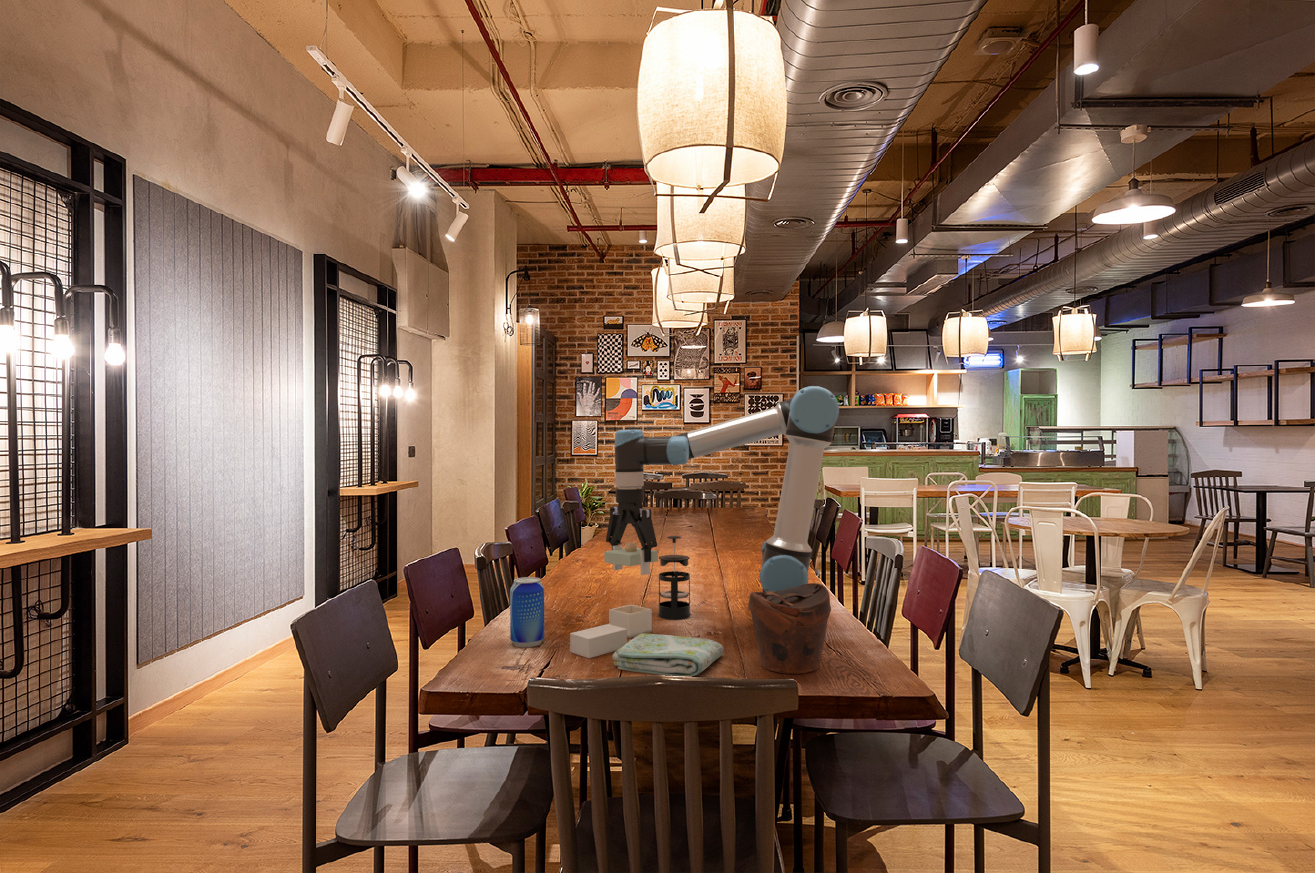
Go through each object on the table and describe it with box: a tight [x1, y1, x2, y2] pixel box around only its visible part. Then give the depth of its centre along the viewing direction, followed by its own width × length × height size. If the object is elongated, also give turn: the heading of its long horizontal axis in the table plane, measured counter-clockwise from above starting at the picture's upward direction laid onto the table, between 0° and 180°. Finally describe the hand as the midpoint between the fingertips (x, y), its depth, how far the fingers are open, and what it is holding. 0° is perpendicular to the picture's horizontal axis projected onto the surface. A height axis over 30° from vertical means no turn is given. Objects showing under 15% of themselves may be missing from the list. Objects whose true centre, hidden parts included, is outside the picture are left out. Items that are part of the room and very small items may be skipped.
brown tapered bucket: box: [747, 582, 832, 675], centre depth 160 cm, size 18×20×18 cm
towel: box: [611, 633, 725, 677], centre depth 163 cm, size 18×21×5 cm
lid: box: [603, 542, 659, 567], centre depth 188 cm, size 10×10×5 cm
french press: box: [657, 535, 692, 621], centre depth 206 cm, size 12×9×23 cm
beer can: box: [509, 576, 545, 648], centre depth 178 cm, size 8×8×16 cm
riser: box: [569, 623, 628, 659], centre depth 173 cm, size 7×12×4 cm, turn 135°
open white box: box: [608, 604, 653, 639], centre depth 188 cm, size 8×8×6 cm
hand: (631, 571), depth 188 cm, fingers closed on lid, 10 cm apart
